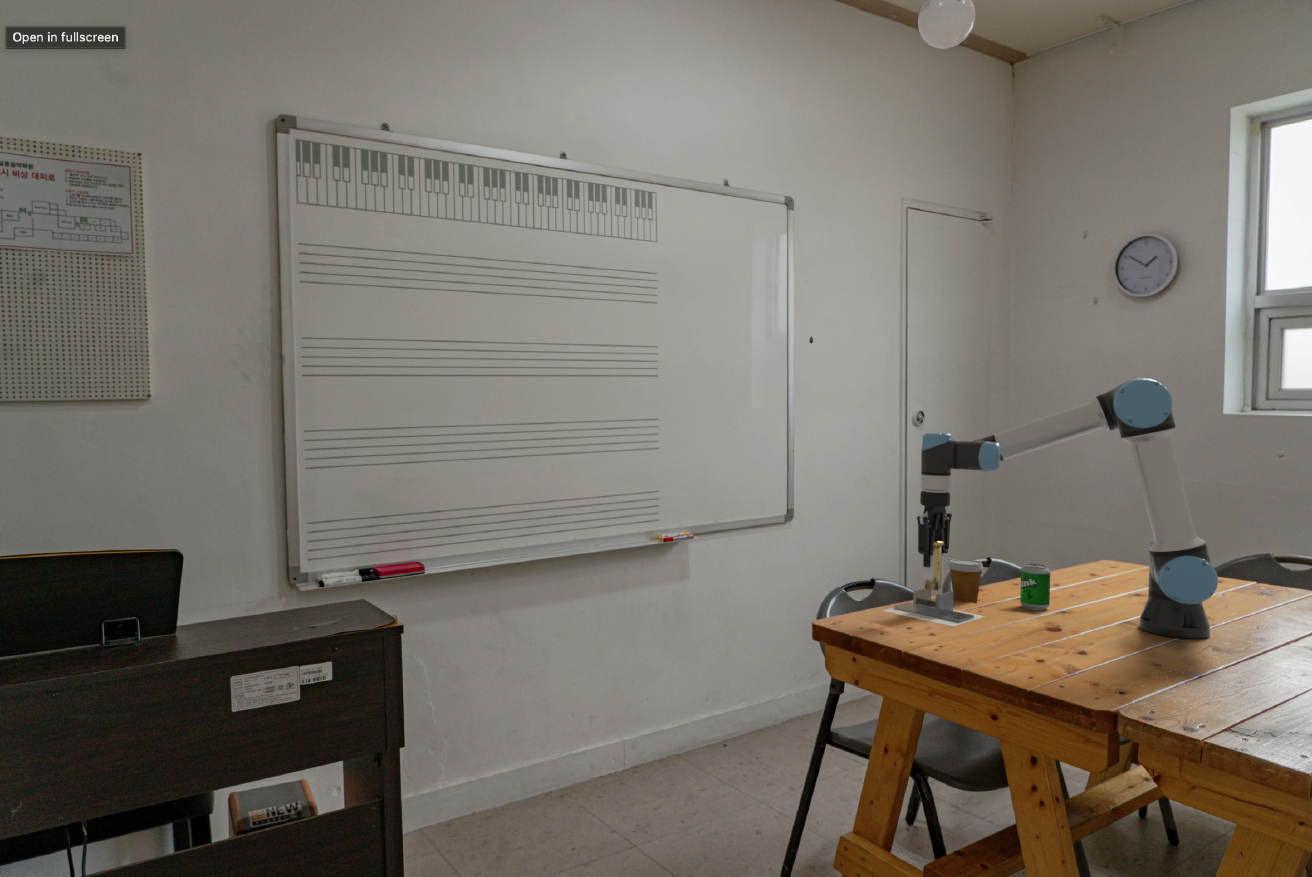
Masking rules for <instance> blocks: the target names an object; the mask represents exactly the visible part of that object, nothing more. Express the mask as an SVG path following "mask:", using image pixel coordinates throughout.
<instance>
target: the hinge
mask: <svg viewBox="0 0 1312 877" xmlns="http://www.w3.org/2000/svg"><path fill="white" fill-rule="evenodd" d="M953 596H954V592H953V591H952V590H950V591H946V592H942V593H938V594H936V595H935V600H932V590H928V589H925V587H923V588H920V589H914V590H913V596H912V597H913V599H912V600H913V601H912V602H911V601H907V602H902V603H899V604H896V605H895V604H894V605H893V608H894V609H898V610H902V611H907V612H912V613H916V614H920V615H925V616H930V617H934V618H939V619H944V620H948V621H953V622H958V623H961V622H964V621H968V620H971V619H974V615H970V614H965V613H960V612H955V611H953V610H954V599H953Z"/></svg>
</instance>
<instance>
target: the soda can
mask: <svg viewBox="0 0 1312 877" xmlns="http://www.w3.org/2000/svg"><path fill="white" fill-rule="evenodd" d="M1019 594H1020V598H1019V599H1020V600H1019V601H1020V602H1019V603H1020V604H1021V606H1022V607H1023V608H1024V609H1027V610H1030V611H1031V610H1032V611H1046V610H1047V609H1048V608H1049V607H1050V602H1051V600H1050V599H1051V597H1050V596H1051V570H1050V569H1049V567H1048V566H1047V565H1045V564H1040V563H1025V564H1024V565H1022V566H1021V568H1020V592H1019Z"/></svg>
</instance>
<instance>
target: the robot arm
mask: <svg viewBox="0 0 1312 877" xmlns="http://www.w3.org/2000/svg"><path fill="white" fill-rule="evenodd" d="M1172 409H1173V398H1172V395H1171V393H1170V391H1169V390H1168V388H1167V387H1166V386H1165V385H1164V384H1162V383H1161V382H1159V381H1157V380H1155V379H1153V378H1147V377H1138V378H1133V379H1130V380H1127V381H1125V382H1123V383H1121V384H1120V385H1118V386H1116V387H1115V388H1113V389H1110V390H1109V391H1107V392H1104V393H1101V394H1098V395H1095V396H1093V399H1092V400H1091V401H1090V402H1087V403H1083V404H1081V405H1078V406H1074V407H1072V408H1069V409H1066V410H1062V411H1059V412H1056V413H1054V414H1050V415H1048V416H1045V417H1042V418H1039V419H1035V420H1033V421H1031V422H1027V423H1025V424H1022V425H1021V424H1020V425H1017V426H1014V427H1012V428H1009V429H1006V430H1003V431H1000V432H997V433H994V434H991V435H989V436H985V437H982V438H978V439H975V440H972V441H971V440H970V441H968V440H966V441H961V440H953V439H954V438H953V435H952V434H951V433H950V432H949V433H945V432H927V433H925V434H923V436H922V442H921V453H920V454H921V459H920V460H921V466H920V468H921V469H920V470H921V472H920V474H921V477H920V489H921V492H920V500H919V502H920V505H922V506H923V507H924V509H923V514H922V515H917V517H916V520H917V528H918V530H917V532H918V533H917V534H918V536H917V552H918V553H919V555H922V556H923V557H922V558H923V559H922V560H923V561H922V566H923V567H922V579H924V580H925V579H928V580H934V555H932V552H933V545H934V540H940V541H944V545H942V550H941V579H943V578H944V554H948V552H949V549H950V536H951V521H952V518H953V517H952V516H953V515H952V513H950V512H947V507H949V506H951V493H950V492H949V491H950V490H951V488H952V487H951V486H952V485H951V483H952V482H951V480H952V479H951V478H952V476H951V475H952V473H951V472H952V470H965V471H966V470H967V471H983V472H996V471H998V470H1000V468H1001V462H1003V461H1006V460H1008V459H1012V458H1015V457H1018V456H1021V455H1024V454H1028V453H1031V452H1034V451H1037V450H1041V449H1043V448H1047V447H1050V446H1054V445H1056V444H1060V443H1063V442H1066V441H1069V440H1072V439H1075V438H1079V437H1081V436H1085V435H1087V434H1091V433H1095V432H1097V431H1101V430H1104V431H1107V432H1110V431H1114V430H1117V429H1118V431H1119V435H1120V438H1121V440H1122V441H1124V442H1126V443H1128V444H1129V446H1130V449H1131V453H1132V454H1131V455H1132V458H1133V461H1134V462H1133V463H1134V465H1135V468H1136V474H1137V477H1138V481H1139V484H1140V489H1141V492H1142V496H1143V501H1144V504H1145V508H1146V512H1147V516H1148V520H1149V524H1150V527H1151V532H1152V535H1153V540H1151V542H1150V544H1149V549H1148V554H1149V556H1148V557H1149V562H1148V588H1147V590H1148V593H1147V595H1148V596H1147V600H1146V602H1145V605H1144V608H1143V610H1142V612H1141V615H1140V617H1139V628H1140V629H1142V630H1144V631H1146V632H1149V633H1151V634H1155V635H1160V636H1165V637H1170V638H1171V637H1172V638H1180V639H1195V640H1196V639H1204V638H1209V636H1210V635H1211V626H1210V623H1209V620H1208V616H1207V614H1206V611H1205V608H1204V604H1203V602H1206V601H1207V600H1209V599H1210V598H1212V596H1213V595H1214V594H1215V593H1216V590H1217V589H1218V585H1219V576H1218V572H1217V570H1216V569H1215V567H1214V566H1213V564H1212V562H1211V558H1210V554H1209V550H1208V545H1207V542H1206V540H1204V539H1202V538H1201V537H1199V536H1198V535H1197V534H1196V531H1195V527H1194V526H1195V525H1194V523H1193V517H1192V515H1191V510H1190V508H1189V503H1188V499H1187V495H1186V491H1185V487H1184V484H1183V479H1182V476H1181V475H1182V474H1181V472H1180V468H1179V464H1178V459H1177V456H1176V452H1175V448H1174V444H1173V441H1172V435H1173V434H1174V433H1175V431H1176V430H1177V426H1176V423H1175V419H1174V415H1173V410H1172Z"/></svg>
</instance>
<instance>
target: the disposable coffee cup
mask: <svg viewBox="0 0 1312 877" xmlns="http://www.w3.org/2000/svg"><path fill="white" fill-rule="evenodd" d="M947 566H948V567H949V572H950V580H951V581H950V582H951V591H953V592H954V596H953V600H956V601H959V602H966V603H970V604H971V603H972V604H977V603H978V598H979V591H980V584H981V578H982V573H983V572H982V571H983V569H984V566H983V563H982V562H981V561H980V560H976V559H975V560H974V559H966V558H965V559H964V558H956V559H951V560H950V561H949V563H948V565H947Z"/></svg>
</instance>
